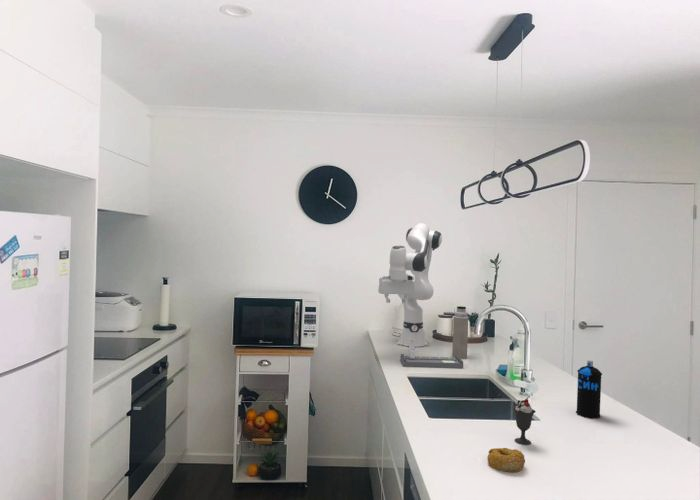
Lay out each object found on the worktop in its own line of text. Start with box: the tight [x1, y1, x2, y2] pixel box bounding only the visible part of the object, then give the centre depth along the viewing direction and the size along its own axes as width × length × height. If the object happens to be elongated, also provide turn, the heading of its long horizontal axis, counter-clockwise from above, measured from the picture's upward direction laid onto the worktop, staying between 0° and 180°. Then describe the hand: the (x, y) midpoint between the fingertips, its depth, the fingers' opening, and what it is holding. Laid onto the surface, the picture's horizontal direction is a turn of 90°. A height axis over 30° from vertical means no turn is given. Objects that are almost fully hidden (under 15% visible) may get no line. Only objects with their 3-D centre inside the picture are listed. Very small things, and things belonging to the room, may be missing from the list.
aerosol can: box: [575, 359, 603, 419], centre depth 177 cm, size 8×8×20 cm
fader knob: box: [408, 340, 416, 359], centre depth 246 cm, size 3×2×9 cm
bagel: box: [486, 447, 526, 473], centre depth 134 cm, size 10×11×5 cm
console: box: [400, 353, 464, 369], centre depth 247 cm, size 13×30×4 cm, turn 90°
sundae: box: [512, 395, 536, 446], centre depth 150 cm, size 7×7×15 cm
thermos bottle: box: [451, 305, 469, 360], centre depth 265 cm, size 8×8×28 cm
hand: (396, 302), depth 253 cm, fingers open, 8 cm apart
